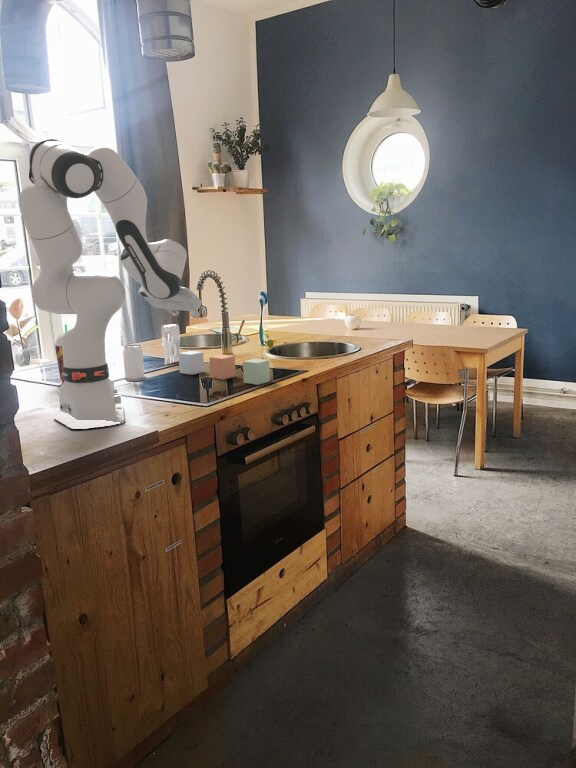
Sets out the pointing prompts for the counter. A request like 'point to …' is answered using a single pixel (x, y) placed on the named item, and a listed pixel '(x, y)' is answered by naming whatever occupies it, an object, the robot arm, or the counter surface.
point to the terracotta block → (222, 366)
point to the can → (133, 362)
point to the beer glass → (171, 342)
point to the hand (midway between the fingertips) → (187, 315)
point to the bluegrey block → (191, 362)
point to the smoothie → (60, 353)
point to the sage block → (256, 371)
